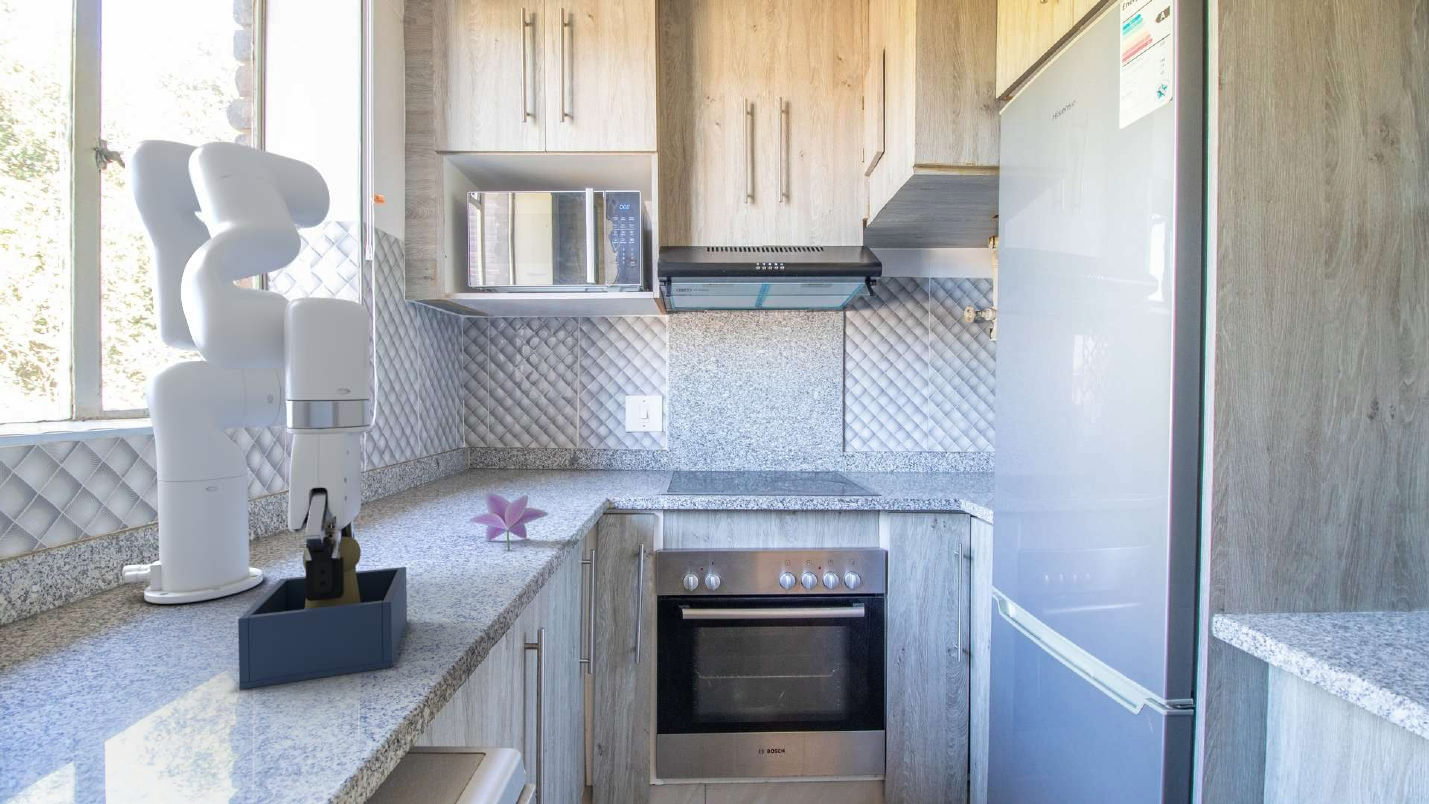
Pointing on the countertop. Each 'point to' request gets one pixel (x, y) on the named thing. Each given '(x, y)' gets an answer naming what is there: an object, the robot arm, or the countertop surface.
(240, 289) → the robot arm
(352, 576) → the cork
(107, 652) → the countertop surface
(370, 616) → the bin
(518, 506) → the lily
